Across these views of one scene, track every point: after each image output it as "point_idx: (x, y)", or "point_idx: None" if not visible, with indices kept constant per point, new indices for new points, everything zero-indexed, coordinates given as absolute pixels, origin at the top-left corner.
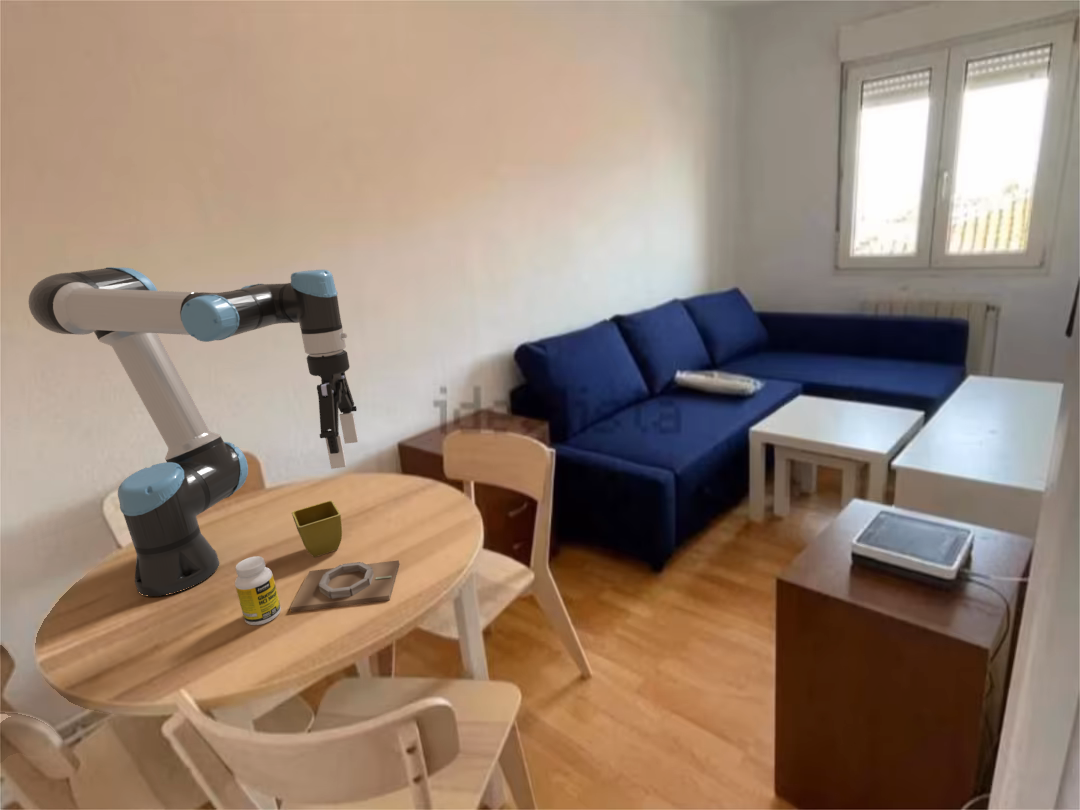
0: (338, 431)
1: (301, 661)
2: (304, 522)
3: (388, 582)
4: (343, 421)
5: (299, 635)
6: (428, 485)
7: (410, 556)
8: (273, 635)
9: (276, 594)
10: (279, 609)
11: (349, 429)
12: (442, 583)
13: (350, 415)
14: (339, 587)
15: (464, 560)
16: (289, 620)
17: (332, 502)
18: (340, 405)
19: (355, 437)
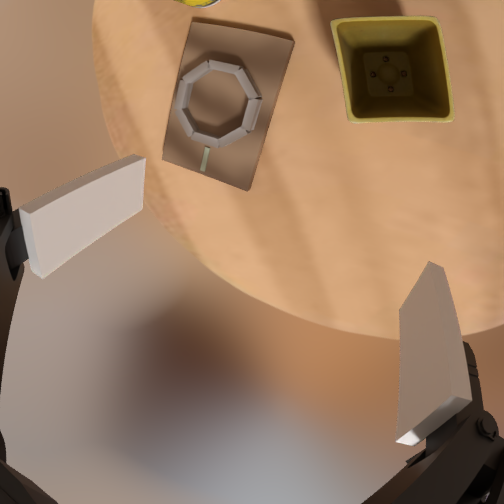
0: (20, 281)
1: (104, 58)
2: (430, 45)
3: (191, 164)
4: (436, 364)
5: (143, 44)
6: (496, 317)
7: (267, 210)
8: (157, 12)
9: (186, 2)
10: (197, 7)
11: (415, 339)
12: (176, 228)
13: (405, 424)
14: (210, 90)
15: (217, 270)
16: (178, 24)
17: (436, 119)
18: (403, 484)
19: (402, 322)
